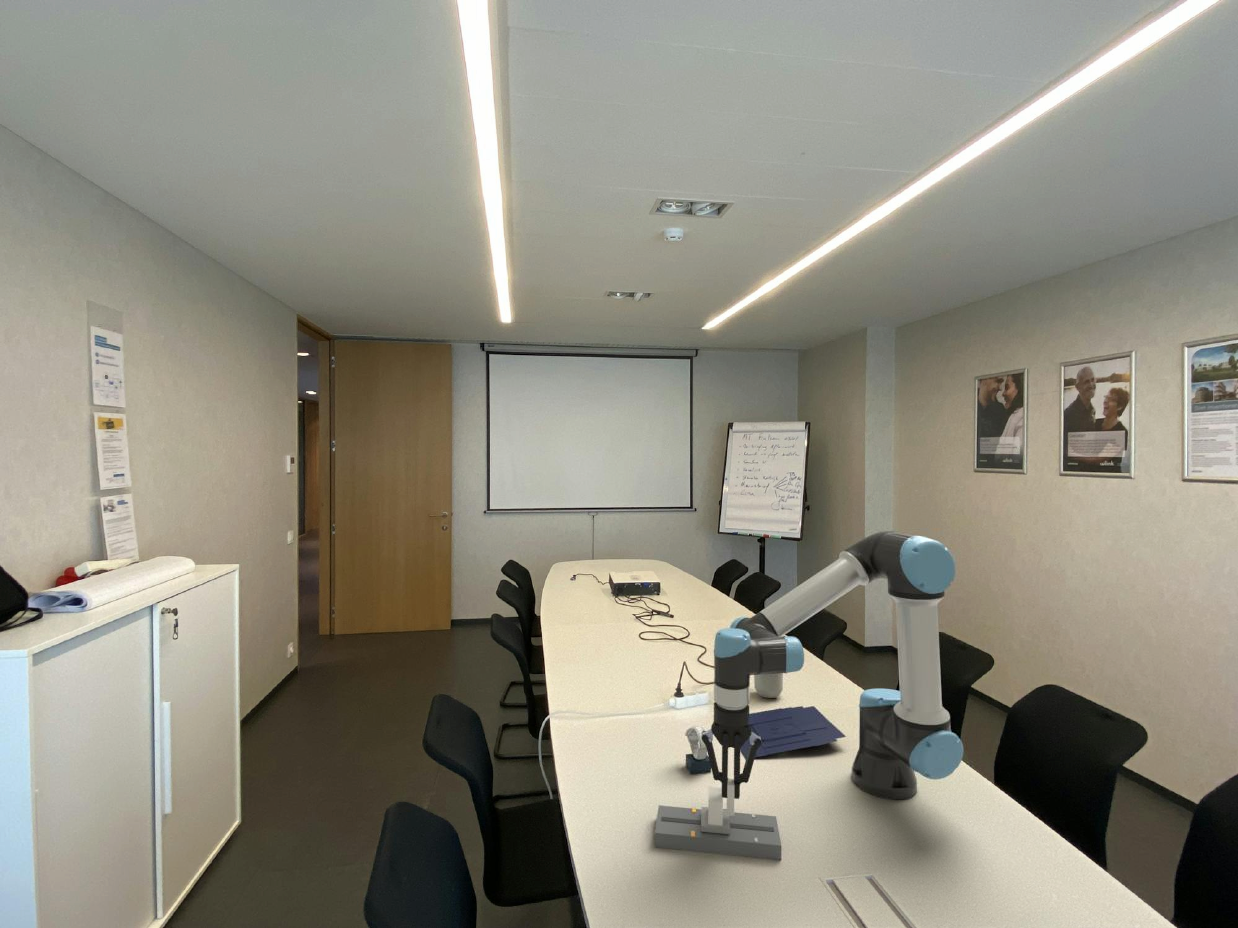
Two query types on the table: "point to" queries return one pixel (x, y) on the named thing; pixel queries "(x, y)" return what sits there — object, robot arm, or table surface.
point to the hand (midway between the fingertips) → (730, 811)
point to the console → (745, 836)
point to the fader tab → (715, 813)
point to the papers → (790, 730)
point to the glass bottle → (769, 684)
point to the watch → (697, 752)
